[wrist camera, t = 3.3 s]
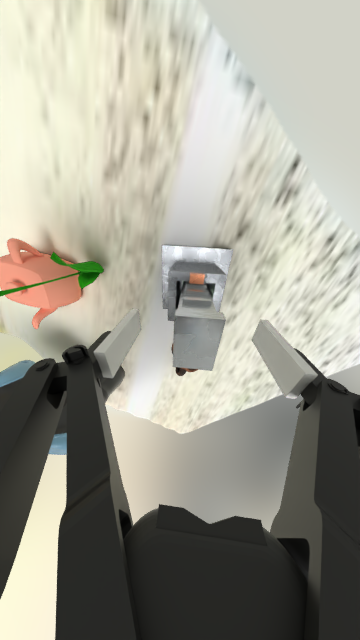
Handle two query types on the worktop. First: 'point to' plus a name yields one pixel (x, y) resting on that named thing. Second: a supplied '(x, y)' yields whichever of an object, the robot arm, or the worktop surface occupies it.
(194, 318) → the column
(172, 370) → the worktop surface
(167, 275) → the stand base
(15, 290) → the flower
